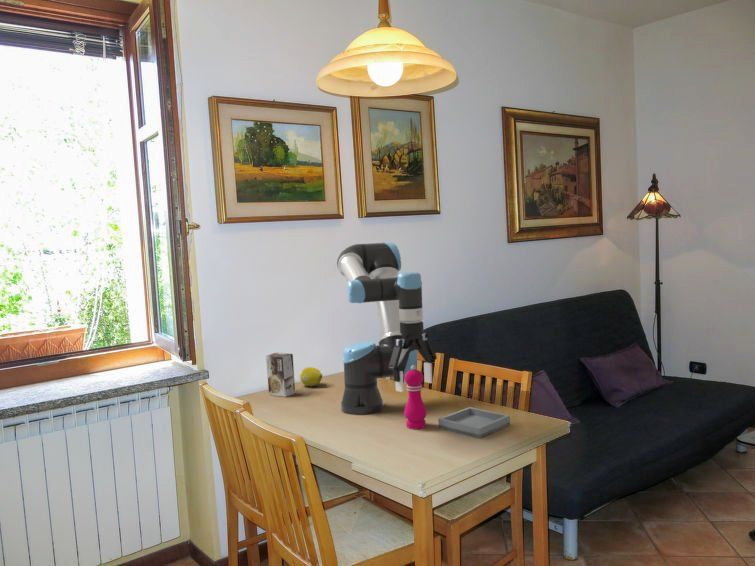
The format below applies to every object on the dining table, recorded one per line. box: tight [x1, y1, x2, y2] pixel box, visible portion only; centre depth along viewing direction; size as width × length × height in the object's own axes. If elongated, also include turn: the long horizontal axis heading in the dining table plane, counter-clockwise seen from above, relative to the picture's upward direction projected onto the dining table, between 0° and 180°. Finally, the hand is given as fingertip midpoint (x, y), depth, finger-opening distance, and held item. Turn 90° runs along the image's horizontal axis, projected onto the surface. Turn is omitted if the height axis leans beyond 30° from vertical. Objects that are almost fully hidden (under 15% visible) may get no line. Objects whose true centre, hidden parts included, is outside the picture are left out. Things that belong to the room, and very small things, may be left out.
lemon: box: [299, 366, 323, 387], centre depth 259 cm, size 11×8×8 cm
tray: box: [438, 406, 511, 439], centre depth 197 cm, size 16×16×3 cm
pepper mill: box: [403, 365, 428, 430], centre depth 200 cm, size 7×7×20 cm
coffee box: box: [265, 352, 296, 398], centre depth 248 cm, size 9×6×16 cm
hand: (414, 386), depth 199 cm, fingers open, 13 cm apart
